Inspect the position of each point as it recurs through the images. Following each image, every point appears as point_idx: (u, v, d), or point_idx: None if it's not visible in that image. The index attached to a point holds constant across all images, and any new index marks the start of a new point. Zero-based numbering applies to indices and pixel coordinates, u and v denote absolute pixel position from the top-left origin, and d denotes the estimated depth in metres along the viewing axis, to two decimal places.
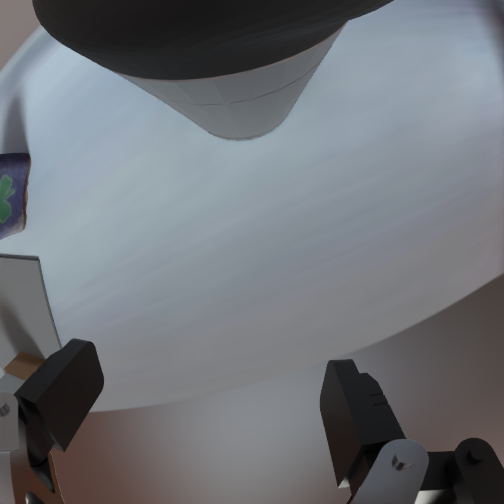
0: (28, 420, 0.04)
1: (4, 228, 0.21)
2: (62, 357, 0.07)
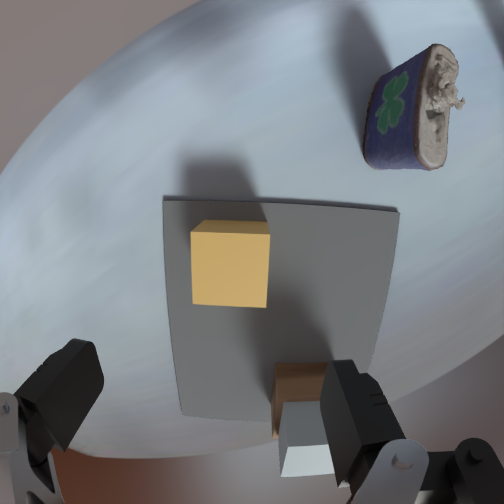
0: (28, 420, 0.04)
1: None
2: (62, 357, 0.07)
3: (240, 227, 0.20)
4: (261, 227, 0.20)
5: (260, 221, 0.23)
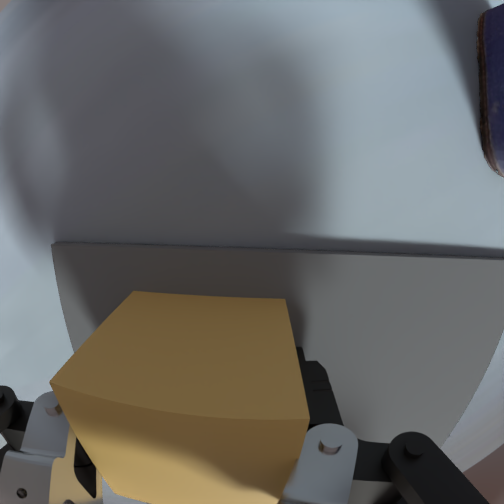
0: None
1: None
2: None
3: (208, 348, 0.06)
4: (273, 345, 0.06)
5: (267, 298, 0.09)
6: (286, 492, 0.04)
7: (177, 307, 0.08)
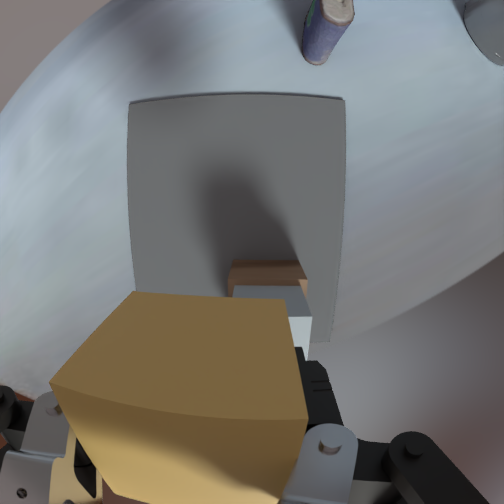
0: None
1: None
2: None
3: (207, 348, 0.06)
4: (272, 345, 0.06)
5: None
6: (286, 492, 0.04)
7: (176, 307, 0.08)
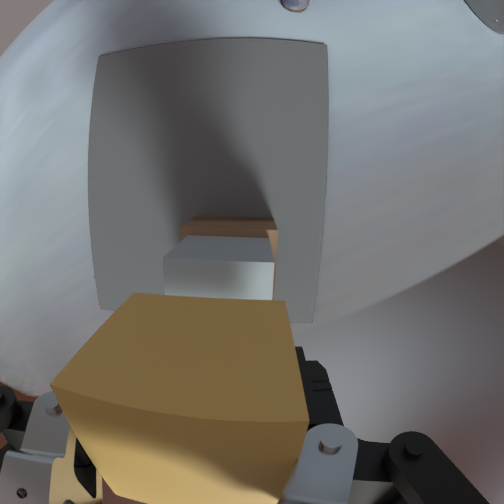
0: None
1: None
2: None
3: (208, 350, 0.06)
4: (273, 347, 0.06)
5: (267, 300, 0.09)
6: (286, 492, 0.04)
7: (177, 309, 0.08)
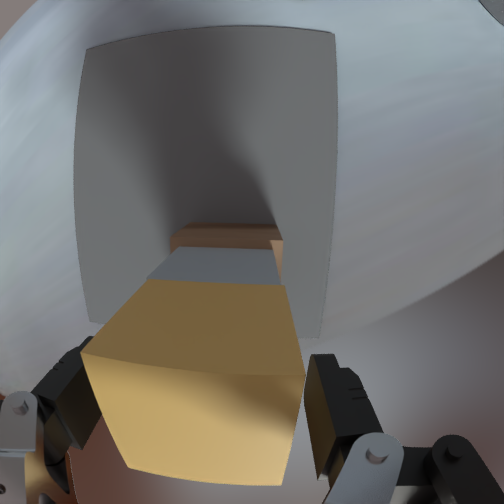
0: (47, 419, 0.05)
1: None
2: (80, 355, 0.07)
3: (219, 323, 0.07)
4: (274, 320, 0.08)
5: None
6: (329, 499, 0.03)
7: (189, 291, 0.09)
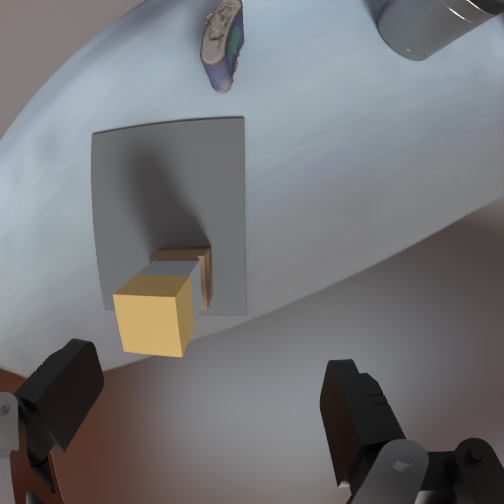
0: (28, 420, 0.04)
1: (229, 72, 0.26)
2: (62, 357, 0.07)
3: (158, 286, 0.21)
4: (176, 285, 0.21)
5: None
6: None
7: (152, 278, 0.23)
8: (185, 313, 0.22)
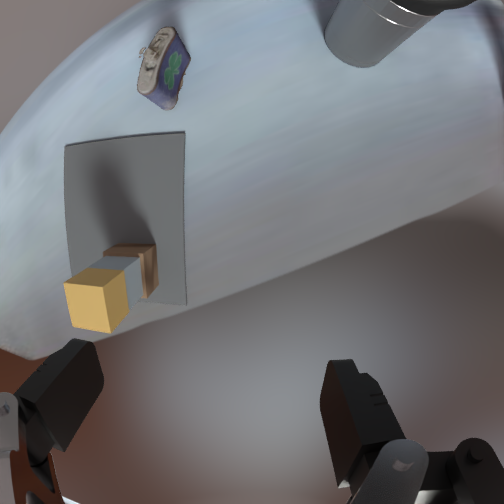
0: (28, 420, 0.04)
1: (168, 94, 0.30)
2: (62, 357, 0.07)
3: (96, 278, 0.26)
4: (109, 278, 0.26)
5: None
6: None
7: (96, 271, 0.28)
8: (116, 299, 0.27)
